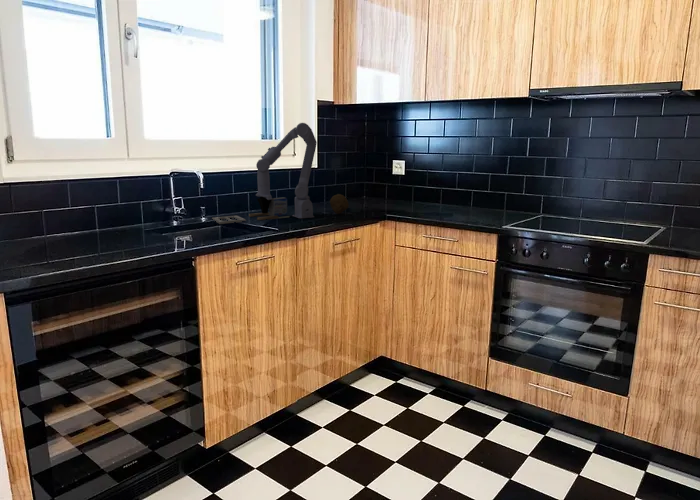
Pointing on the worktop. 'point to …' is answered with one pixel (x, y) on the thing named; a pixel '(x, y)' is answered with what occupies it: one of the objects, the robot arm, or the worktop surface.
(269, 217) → the channel rails
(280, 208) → the medicine box
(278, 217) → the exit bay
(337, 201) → the natural sponge
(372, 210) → the worktop surface
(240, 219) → the plate
